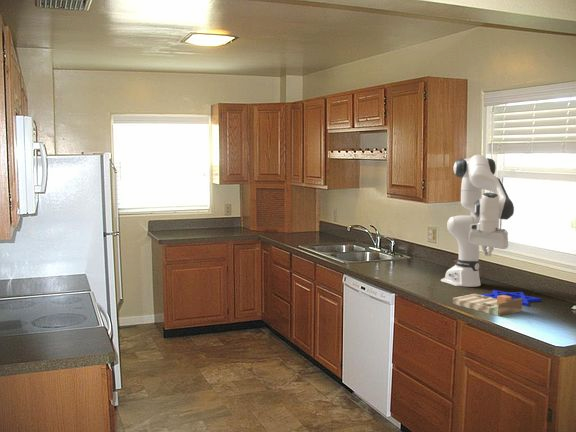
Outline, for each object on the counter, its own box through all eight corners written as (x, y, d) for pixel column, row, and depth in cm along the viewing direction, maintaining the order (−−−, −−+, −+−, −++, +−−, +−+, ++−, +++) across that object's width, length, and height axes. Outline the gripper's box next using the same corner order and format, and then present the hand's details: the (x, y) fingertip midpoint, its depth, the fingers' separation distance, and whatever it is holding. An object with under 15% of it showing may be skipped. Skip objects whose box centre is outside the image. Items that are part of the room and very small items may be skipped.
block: (496, 305, 292) (497, 296, 291) (502, 304, 295) (503, 294, 294) (505, 307, 288) (505, 297, 288) (511, 306, 291) (511, 296, 290)
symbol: (472, 296, 316) (499, 287, 337) (472, 300, 316) (499, 290, 337) (522, 306, 298) (547, 296, 319) (521, 310, 298) (547, 299, 319)
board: (452, 303, 306) (453, 291, 305) (474, 299, 316) (475, 287, 315) (499, 316, 284) (500, 303, 283) (521, 311, 294) (522, 298, 293)
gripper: (511, 229, 290) (510, 258, 291) (475, 224, 306) (474, 252, 308) (503, 230, 286) (502, 259, 287) (467, 225, 302) (466, 253, 304)
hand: (487, 255), depth 298 cm, fingers closed
